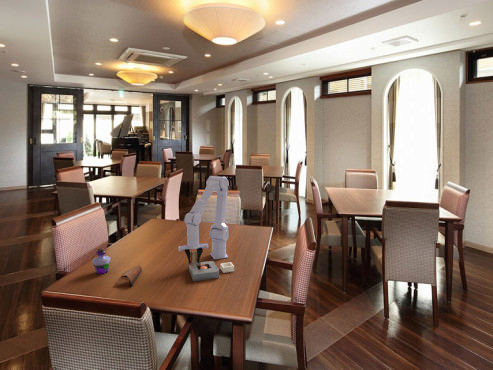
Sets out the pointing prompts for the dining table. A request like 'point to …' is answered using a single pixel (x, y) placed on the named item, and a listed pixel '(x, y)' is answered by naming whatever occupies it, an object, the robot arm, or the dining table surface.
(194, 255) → the tan cylinder
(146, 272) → the dining table surface
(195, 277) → the grey square frame block
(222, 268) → the holder
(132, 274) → the sunglasses case
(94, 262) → the potion bottle
